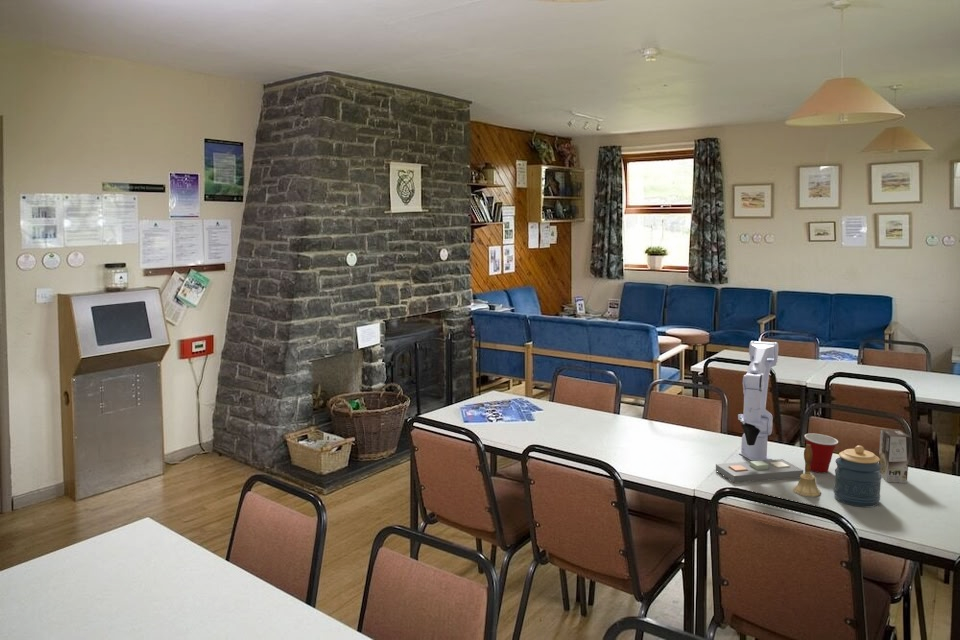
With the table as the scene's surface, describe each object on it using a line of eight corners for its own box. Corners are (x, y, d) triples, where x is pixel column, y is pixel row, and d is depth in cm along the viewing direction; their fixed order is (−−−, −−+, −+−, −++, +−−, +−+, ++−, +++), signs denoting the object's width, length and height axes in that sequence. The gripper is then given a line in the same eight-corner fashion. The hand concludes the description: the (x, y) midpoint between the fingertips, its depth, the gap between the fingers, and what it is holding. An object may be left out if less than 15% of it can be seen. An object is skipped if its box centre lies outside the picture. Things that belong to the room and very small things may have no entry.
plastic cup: (833, 477, 238) (835, 444, 236) (799, 471, 244) (801, 438, 243) (839, 468, 247) (841, 436, 245) (806, 463, 253) (808, 431, 251)
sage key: (749, 467, 244) (749, 461, 244) (761, 466, 245) (761, 460, 244) (756, 471, 240) (757, 465, 239) (768, 470, 240) (768, 464, 240)
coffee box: (907, 483, 232) (911, 436, 230) (886, 482, 233) (890, 436, 231) (897, 474, 241) (900, 429, 239) (877, 472, 242) (880, 428, 240)
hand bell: (805, 498, 221) (807, 449, 219) (787, 488, 229) (789, 442, 227) (826, 495, 223) (829, 447, 221) (808, 486, 231) (810, 439, 229)
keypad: (715, 470, 246) (715, 464, 246) (782, 465, 251) (782, 458, 250) (733, 483, 234) (734, 475, 234) (802, 477, 239) (803, 470, 239)
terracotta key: (728, 471, 243) (728, 465, 242) (740, 470, 244) (740, 464, 243) (735, 476, 238) (735, 470, 238) (747, 475, 239) (747, 469, 239)
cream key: (770, 468, 246) (770, 462, 245) (781, 467, 246) (781, 461, 246) (777, 472, 241) (777, 466, 241) (789, 471, 242) (789, 465, 242)
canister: (838, 488, 228) (841, 437, 226) (883, 498, 220) (887, 444, 218) (828, 501, 218) (832, 447, 216) (875, 511, 210) (879, 455, 208)
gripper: (730, 403, 250) (729, 439, 251) (753, 413, 235) (751, 452, 237) (748, 401, 251) (747, 438, 253) (772, 412, 237) (770, 450, 238)
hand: (750, 444), depth 245 cm, fingers closed
